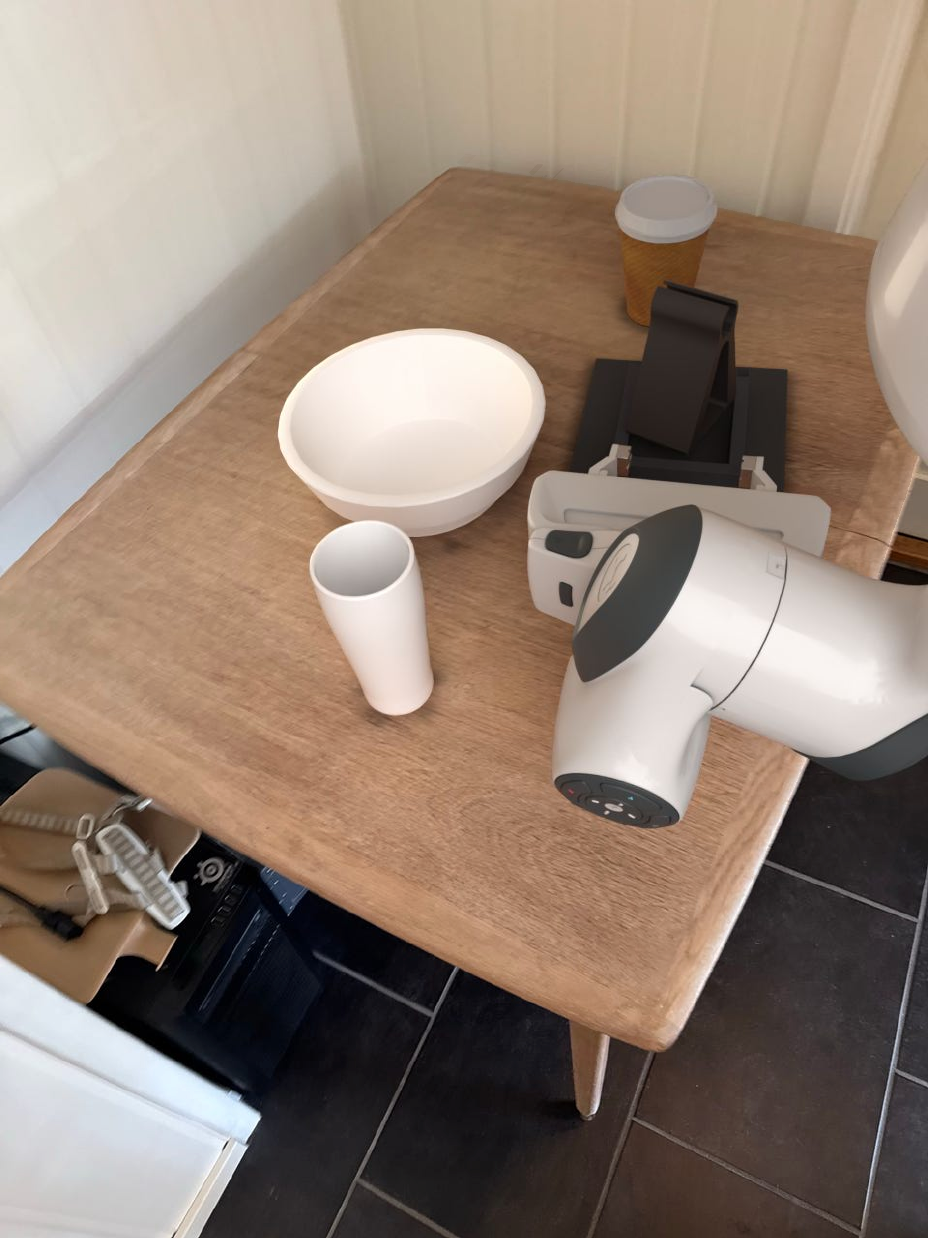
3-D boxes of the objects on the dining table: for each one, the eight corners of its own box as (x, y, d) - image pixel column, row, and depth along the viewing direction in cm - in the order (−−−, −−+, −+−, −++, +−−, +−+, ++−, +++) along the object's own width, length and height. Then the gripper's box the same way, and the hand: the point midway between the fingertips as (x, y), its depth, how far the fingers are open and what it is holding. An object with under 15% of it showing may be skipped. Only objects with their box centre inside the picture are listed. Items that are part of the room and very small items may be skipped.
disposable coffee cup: (710, 333, 88) (726, 218, 79) (615, 340, 89) (619, 227, 80) (697, 280, 94) (711, 167, 85) (607, 287, 95) (611, 176, 86)
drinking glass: (403, 637, 69) (367, 502, 57) (463, 685, 66) (437, 552, 54) (337, 691, 67) (285, 562, 55) (396, 744, 63) (354, 619, 51)
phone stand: (675, 376, 80) (688, 254, 71) (736, 397, 78) (758, 273, 68) (624, 434, 76) (631, 312, 67) (687, 457, 74) (703, 335, 64)
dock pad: (785, 377, 83) (791, 350, 81) (780, 531, 72) (787, 505, 69) (595, 366, 87) (596, 340, 85) (562, 510, 76) (561, 485, 73)
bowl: (282, 579, 74) (253, 510, 67) (320, 406, 88) (299, 334, 81) (550, 571, 72) (547, 498, 65) (546, 394, 85) (544, 319, 79)
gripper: (839, 581, 52) (844, 434, 60) (504, 540, 57) (551, 411, 66) (819, 647, 56) (827, 503, 65) (512, 604, 62) (555, 476, 70)
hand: (686, 457), depth 65 cm, fingers open, 8 cm apart
